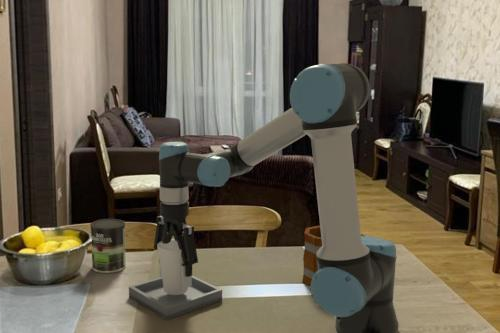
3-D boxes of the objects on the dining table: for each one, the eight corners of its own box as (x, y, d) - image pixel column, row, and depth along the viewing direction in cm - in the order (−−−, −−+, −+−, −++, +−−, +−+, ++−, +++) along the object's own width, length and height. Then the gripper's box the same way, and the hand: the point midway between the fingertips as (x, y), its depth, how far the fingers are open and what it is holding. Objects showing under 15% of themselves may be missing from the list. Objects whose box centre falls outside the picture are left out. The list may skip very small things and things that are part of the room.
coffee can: (115, 275, 177) (114, 230, 174) (85, 271, 180) (83, 226, 177) (132, 263, 187) (131, 220, 184) (103, 259, 190) (101, 217, 187)
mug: (308, 291, 167) (310, 241, 164) (296, 273, 180) (297, 226, 177) (374, 287, 171) (377, 237, 168) (357, 270, 184) (360, 223, 181)
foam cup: (186, 298, 156) (186, 251, 153) (153, 295, 157) (152, 248, 155) (197, 284, 165) (197, 240, 162) (165, 281, 166) (164, 237, 164)
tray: (222, 300, 161) (222, 289, 160) (167, 319, 149) (166, 308, 148) (182, 280, 174) (182, 270, 173) (129, 297, 162) (128, 286, 161)
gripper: (212, 207, 150) (212, 290, 155) (162, 190, 166) (163, 266, 171) (188, 212, 145) (188, 298, 150) (139, 195, 161) (141, 272, 166)
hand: (175, 281), depth 160 cm, fingers closed on foam cup, 9 cm apart
